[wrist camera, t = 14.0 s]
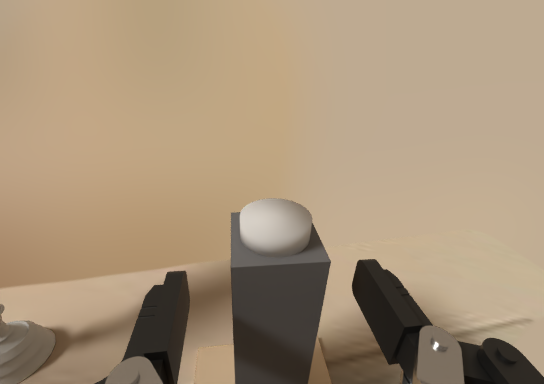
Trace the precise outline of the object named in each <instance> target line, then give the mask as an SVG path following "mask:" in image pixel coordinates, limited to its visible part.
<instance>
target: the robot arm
mask: <svg viewBox="0 0 544 384" xmlns="http://www.w3.org/2000/svg"><path fill="white" fill-rule="evenodd" d="M352 291H353V294H354V297H355V299H356V301H357V303H358V305H359V307H360V309H361V311H362V313H363V315H364V317H365V319H366V321H367V323H368V324H369V326H370V328H371V330H372V332H373V334H374V336H375V338H376V340H377V342H378V344H379V346H380V348H381V350H382V352H383V354H384V356H385V358H386V360H387V362H388V364H389V365H391V364H400V366H401V368H402V371H401V375H400V384H544V377H543V376H542V375H541V374H540V373H539V372H538V371H537V369H536V368H535V367H534V366H533V365H532V364H531V363H530V362H529V361H528V360H527V358H526V357H525V356H524V355H523V354H522V353H521V352H520V351H519V350H517V349H516V348H515V347H513V346H512V345H510V344H509V343H507V342H505V341H502V340H500V339H496V338H488V339H485V340H484V342H483V343H482V345H481V346H479V345H474V344H469V343H464V342H459V341H457V340H456V339H455V338H454V337H453V336H452V335H451V334H450V333H448V332H447V331H445V330H443V329H441V328H439V327H436V326H433V325H432V323H431V322H430V321H429V319H428V318H427V317H426V315H425V314H424V313H423V311H422V310H421V309H420V307H419V306H418V305H417V303H416V302H415V301H414V299H413V298H412V297H411V296H410V295H409V293H408V291H407V290H406V289H405V288H404V286H403V285H402V283H401V282H400V281H399V279H398V278H397V277H396V276H395V275H394V274H392V273H391V272H390V271H388V270H387V269H386V270H383V269H382V267H381V266H380V264H379V263H378V262H377V260H375V259H368V260H359V261H358V262H357V266H356V270H355V274H354V278H353V282H352ZM189 305H190V296H189V288H188V281H187V274H186V271H174V272H167V274H166V278H165V281H164V285H154V286H153V287H152V289H151V290H150V291H149V292H148V293H147V294H146V296H145V299H144V301H143V304H142V309H141V310H140V313H139V316H138V319H137V321H136V324H135V327H134V330H133V333H132V335H131V338H130V341H129V344H128V347H127V350H126V352H125V355H124V358H123V360H122V361H121V363H120V364H118V365H117V366H116V367H115V368H114V369H113V370H112V371H111V373H110V374H109V376H107V377H106V378H104V379H103V380H101V381H99V382H97V383H95V384H177V381H178V375H179V369H180V362H181V356H182V350H183V344H184V338H185V332H186V326H187V319H188V313H189Z"/></svg>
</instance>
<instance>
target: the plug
mask: <svg viewBox="0 0 544 384" xmlns="http://www.w3.org/2000/svg"><path fill="white" fill-rule="evenodd" d="M330 263H331V261H330V259H329V257H328V255H327V252H326V250H325V248H324V246H323V244H322V242H321V240H320V238H319V236H318V233H317V231H316V229H315V227H314V225H313V223H312V216H311V214H310V212H309V211H308V210H307V209H306V208H305V207H303V206H302V205H300V204H298V203H296V202H293V201H289V200H285V199H275V198H273V199H272V198H271V199H262V200H257V201H254V202H252V203H250V204H248V205H246V206H245V207H244V208H243V209H242V211H241V212H239V213H238V212H237V213H231V286H232V313H233V340H234V368H235V384H308V380H309V375H310V369H311V364H312V359H313V353H314V348H315V343H316V338H317V332H318V327H319V322H320V316H321V311H322V306H323V300H324V295H325V290H326V284H327V279H328V274H329V268H330Z"/></svg>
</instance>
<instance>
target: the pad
mask: <svg viewBox="0 0 544 384" xmlns="http://www.w3.org/2000/svg"><path fill="white" fill-rule="evenodd" d="M194 384H235V368H234V344H230V345H220V346H210V347H200V348H198V354H197V362H196V371H195V380H194ZM308 384H332V382H331V379H330V376H329V373H328V369H327V366H326V363H325V359H324V356H323V353H322V349H321V346H320V343H319V339H318V336H317V338H316V343H315V348H314V353H313V359H312V364H311V369H310V375H309V380H308Z"/></svg>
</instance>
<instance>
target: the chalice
mask: <svg viewBox="0 0 544 384" xmlns="http://www.w3.org/2000/svg"><path fill="white" fill-rule="evenodd" d="M3 311H4V306H3V305H2V304H0V384H18V383H20V382H21V381H23V380H24V379H26V378H27V377H28V376H30V375H31V374H33V373H34V372H35V371H36V370H37V369H38V368H39V367H40V366H41V365H42V364H43V363H44V362H45V361H46V360H47V358H48V357H49V355H50V354H51V353H52V351H53V348H54V345H55V343H56V341H55V334H54V333H53V332H52V330H50V329H47V328H44V327H42V326H40V325H38V324H35V323H34V322H31V321H14V322H9V323H4V322H3V321H2V317H1V314H2V313H3Z"/></svg>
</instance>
